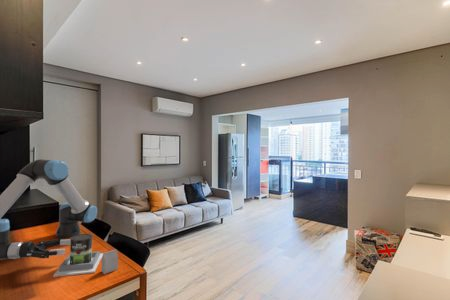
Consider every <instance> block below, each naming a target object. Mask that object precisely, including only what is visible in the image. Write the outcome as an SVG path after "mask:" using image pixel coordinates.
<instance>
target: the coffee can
mask: <svg viewBox="0 0 450 300" xmlns="http://www.w3.org/2000/svg"><path fill="white" fill-rule="evenodd" d="M69 239H70V240H71V245H70V247H69V249H70V250H69V251H70V252H69V254H70V265H72V264H83V263H91V256H92V252H93V234H91V233H80V234H79V235H76V236H73V237H70V238H69Z"/></svg>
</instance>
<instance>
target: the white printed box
mask: <svg viewBox="0 0 450 300" xmlns="http://www.w3.org/2000/svg"><path fill="white" fill-rule="evenodd" d="M102 253H103V256H102V258H101V269H100V270H101V273H102V274H103V275H106V274H108V273H111V272H113V271H117V270H118V269H119V267H118V266H119V254H118V250H117V249H116V248H115V249H113V250H110V251H106V252H102Z"/></svg>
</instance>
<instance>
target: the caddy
mask: <svg viewBox="0 0 450 300" xmlns="http://www.w3.org/2000/svg"><path fill="white" fill-rule="evenodd" d="M103 253H104V252H101V251H92V256H91V263H83V264H72V265H70V253H69V254H68V255H67V256H66V258H65V259H64V260H63V261H62V262H61V264H60V265H59V266H58V269H57V270H56V271H55V272H54V274H53V275H52V276H53V278H57V277H65V276H66V277H67V276H77V275H85V274H94V273H95V272H96V270H97V268H98V266H99V264H100V262H101V261H102V257H103Z"/></svg>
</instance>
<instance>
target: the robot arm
mask: <svg viewBox="0 0 450 300" xmlns="http://www.w3.org/2000/svg"><path fill="white" fill-rule="evenodd" d="M39 179H42V180H44V181H45V182H46V183H47V184H48V185H49V186H53V187H54V188H55V189H56V190H57V192H58V193H59V194H60V195H61V197H62V198H63V200H65V202H64V203H61V204H60V205H59V208H58V209H59V211H58V212H59V213H58V214H59V216H58V217H59V218H58V223H59V224H58V226H57V229H56V231H55V237H56V238H55V239H50V240H45V241H38V243H37V244H35V243H34V242H33V241H24V242H23V241H19V242H10V229H11V226H10V220H9V219H8V218H2V217H4V215H5V214H6V213H7V211H8V210H10V208H12V206H13V205H14V204H15V202H16V201H18V199H19V198H20V197H21V196H22V194H23V193H25V191H26V190H27V189H28V188H29V187H30V185H32V184H34V183H36V181H37V180H39ZM97 215H98V207H97V206H95V205H92V204H90V202H89V200H87V199H84V198H83V197H82V196H81V194H80V193H79V191H78V190H77V189H76V187H75V186H74V185H73V183H72V181H70V178H69V166H68V164H67V163H66V162H64V161H63V160H62V161H61V160H58V159H36V160H33V161H31V162H29V163H28V164H26V165H25V166H24V167H22V169H20V171H19V172H17V174H16V178H15V179H14V180H13V181H12V182H11V183H10V184H9V185H8V187H6V188H5V190H4V191H3V192H2V193H1V194H0V260H1V261H2V260H11V259H13V260H16V259H20V258H21V259H24V258H37V259H49V258H50V257H51V256H52V257H54V256H64V255H66V248H59V249H58V248H57V249H49V250H47V249H48V248H52V247H56V246H67V245H68V246H69V245H70V246H71V240H70V239H71V237H73V236H76V235H80V234H82V233H81V232H82V231H81V230H82V229H81V227H80V224H79V223H86V224H87V223H92V222H93V221H94V220H95V219H96V218H97ZM63 238H69V239H63Z"/></svg>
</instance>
